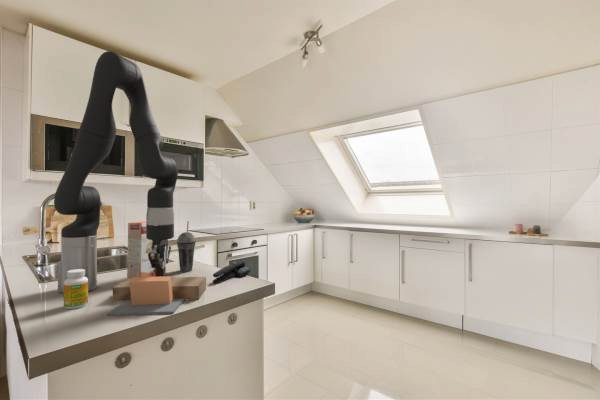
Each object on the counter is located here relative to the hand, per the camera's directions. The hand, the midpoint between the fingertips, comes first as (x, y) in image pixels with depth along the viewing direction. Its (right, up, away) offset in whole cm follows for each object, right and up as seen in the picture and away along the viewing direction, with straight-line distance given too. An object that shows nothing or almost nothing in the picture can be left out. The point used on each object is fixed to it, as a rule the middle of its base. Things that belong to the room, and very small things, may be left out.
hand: (160, 280), depth 90 cm
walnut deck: (0, -5, +2) cm, 6 cm away
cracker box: (-14, -5, +21) cm, 26 cm away
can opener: (+16, -5, +22) cm, 28 cm away
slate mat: (+1, -5, -8) cm, 10 cm away
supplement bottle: (-20, -5, -8) cm, 22 cm away
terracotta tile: (+1, -1, -7) cm, 7 cm away
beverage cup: (-4, -5, +32) cm, 33 cm away
